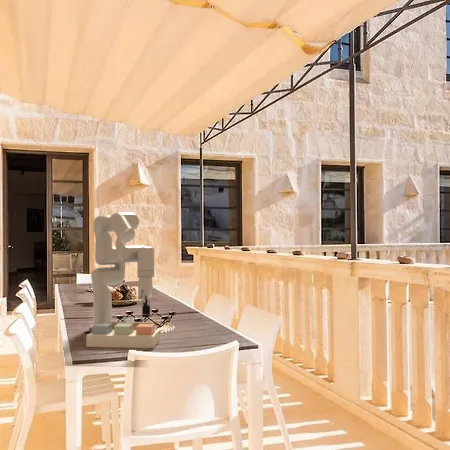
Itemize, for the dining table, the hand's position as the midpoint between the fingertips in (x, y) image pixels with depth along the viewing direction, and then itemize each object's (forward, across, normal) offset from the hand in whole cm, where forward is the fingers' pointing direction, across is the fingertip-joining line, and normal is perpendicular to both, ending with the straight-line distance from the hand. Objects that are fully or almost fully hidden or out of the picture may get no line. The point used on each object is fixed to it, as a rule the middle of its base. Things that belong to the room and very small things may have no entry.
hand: (146, 314), depth 230 cm
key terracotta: (+9, -1, 0) cm, 9 cm away
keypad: (+13, -2, -11) cm, 17 cm away
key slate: (+9, -1, -20) cm, 22 cm away
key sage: (+9, -1, -10) cm, 14 cm away
